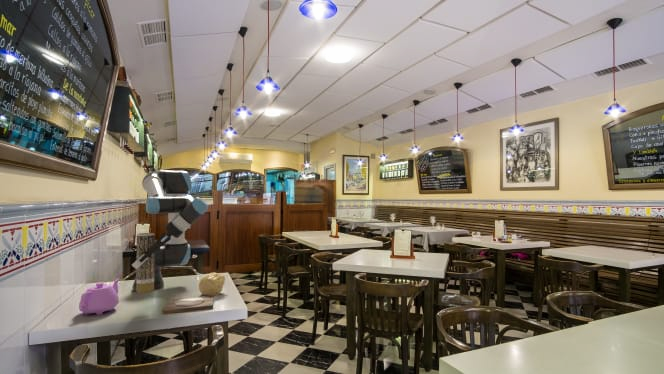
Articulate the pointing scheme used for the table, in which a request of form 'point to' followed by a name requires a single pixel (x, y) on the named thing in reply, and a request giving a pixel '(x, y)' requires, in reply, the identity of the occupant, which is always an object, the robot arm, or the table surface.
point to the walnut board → (188, 304)
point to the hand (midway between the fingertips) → (136, 265)
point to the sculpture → (211, 284)
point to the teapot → (99, 298)
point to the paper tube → (145, 263)
